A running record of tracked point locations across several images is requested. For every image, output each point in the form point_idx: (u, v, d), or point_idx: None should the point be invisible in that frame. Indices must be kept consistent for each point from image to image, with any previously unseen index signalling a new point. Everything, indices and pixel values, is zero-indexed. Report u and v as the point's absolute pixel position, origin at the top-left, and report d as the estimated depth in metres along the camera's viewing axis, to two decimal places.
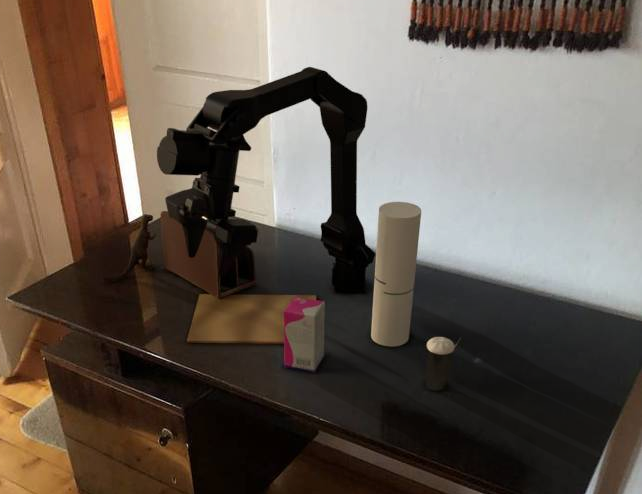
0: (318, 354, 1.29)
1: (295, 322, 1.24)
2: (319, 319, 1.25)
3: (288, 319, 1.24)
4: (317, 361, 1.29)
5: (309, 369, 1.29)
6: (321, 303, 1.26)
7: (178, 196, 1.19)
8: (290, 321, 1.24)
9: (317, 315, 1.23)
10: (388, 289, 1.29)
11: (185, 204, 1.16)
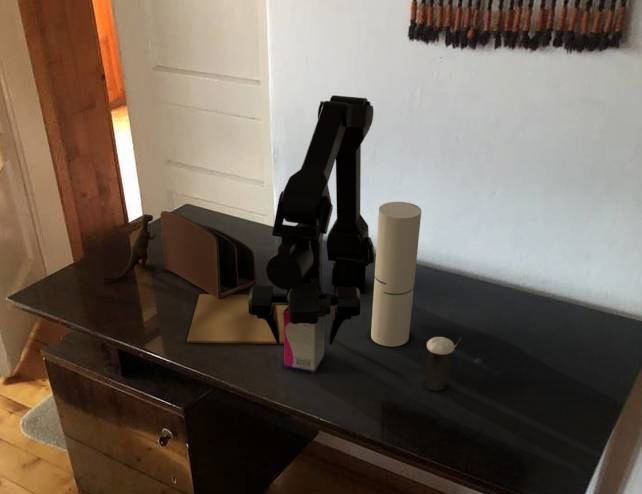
0: (318, 354, 1.29)
1: None
2: (319, 320, 1.25)
3: (288, 319, 1.24)
4: (317, 361, 1.29)
5: (309, 369, 1.29)
6: None
7: (297, 301, 1.17)
8: None
9: None
10: (388, 289, 1.29)
11: (319, 305, 1.16)
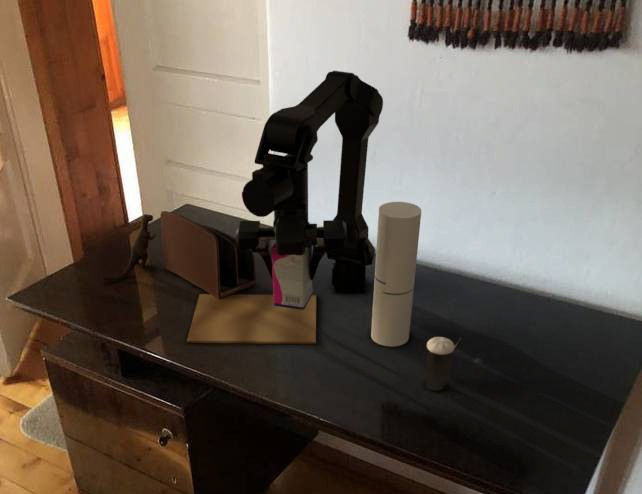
0: (307, 291, 1.30)
1: (283, 259, 1.25)
2: (306, 255, 1.26)
3: (276, 256, 1.25)
4: (306, 298, 1.30)
5: (298, 306, 1.30)
6: None
7: (284, 232, 1.18)
8: (278, 258, 1.25)
9: (305, 251, 1.24)
10: (388, 289, 1.29)
11: (306, 236, 1.17)
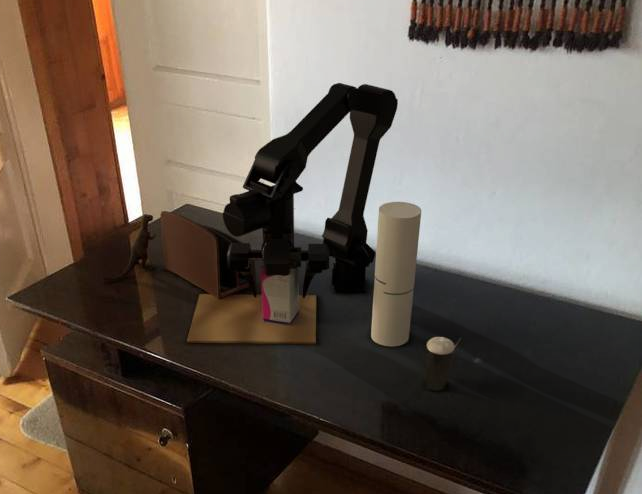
0: (293, 308, 1.41)
1: (272, 278, 1.36)
2: (293, 275, 1.37)
3: (265, 275, 1.36)
4: (292, 314, 1.41)
5: (285, 321, 1.41)
6: None
7: (271, 254, 1.28)
8: (267, 277, 1.36)
9: (291, 270, 1.35)
10: (388, 289, 1.29)
11: (291, 258, 1.28)
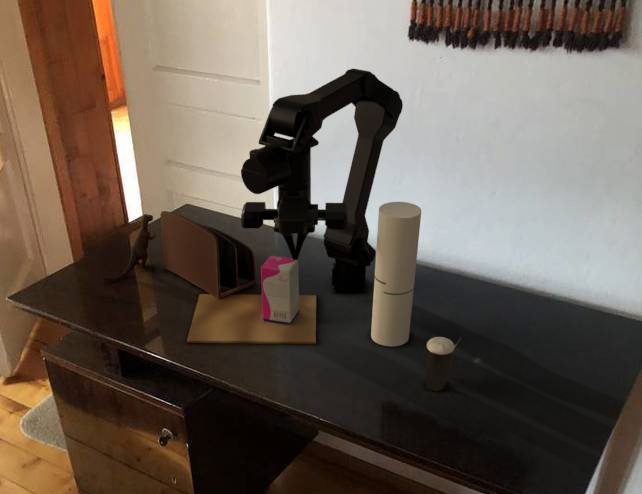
0: (293, 308, 1.41)
1: (272, 278, 1.36)
2: (293, 275, 1.37)
3: (265, 275, 1.36)
4: (292, 314, 1.41)
5: (285, 321, 1.41)
6: (295, 260, 1.38)
7: (287, 212, 1.24)
8: (267, 277, 1.36)
9: (291, 270, 1.35)
10: (388, 289, 1.29)
11: (307, 215, 1.23)
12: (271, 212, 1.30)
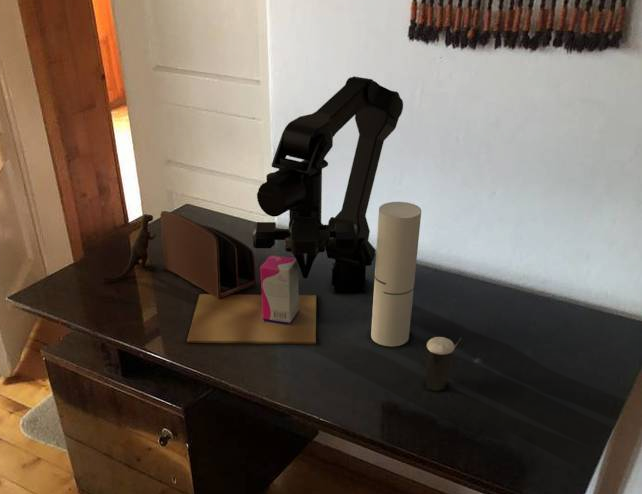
0: (293, 307, 1.41)
1: (271, 277, 1.36)
2: (293, 275, 1.37)
3: (265, 275, 1.36)
4: (292, 314, 1.41)
5: (285, 321, 1.41)
6: (294, 260, 1.38)
7: (299, 232, 1.26)
8: (266, 276, 1.36)
9: (291, 270, 1.35)
10: (388, 289, 1.29)
11: (319, 236, 1.25)
12: (282, 232, 1.32)
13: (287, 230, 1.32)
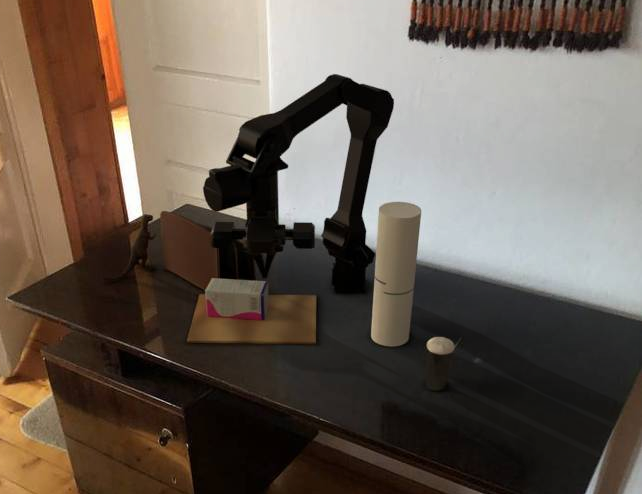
0: (251, 288, 1.41)
1: (216, 307, 1.42)
2: (217, 285, 1.42)
3: (214, 313, 1.43)
4: (257, 290, 1.40)
5: (260, 298, 1.39)
6: (210, 281, 1.44)
7: (255, 232, 1.26)
8: (215, 311, 1.42)
9: (209, 287, 1.41)
10: (388, 289, 1.29)
11: (275, 236, 1.25)
12: (240, 232, 1.32)
13: (245, 230, 1.33)
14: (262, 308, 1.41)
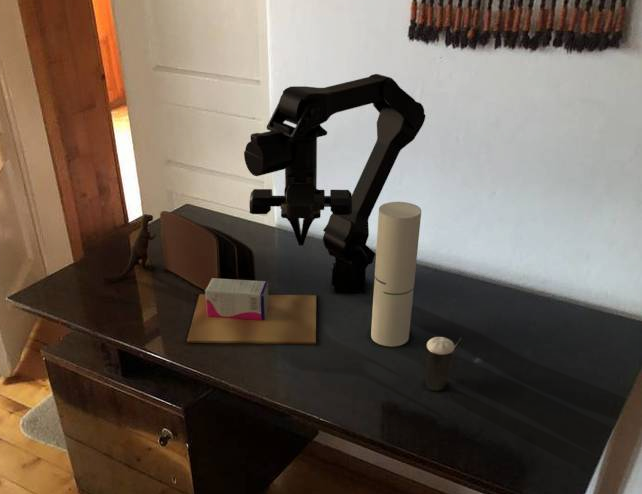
0: (251, 288, 1.41)
1: (215, 307, 1.42)
2: (217, 286, 1.42)
3: (214, 313, 1.43)
4: (256, 290, 1.40)
5: (260, 299, 1.39)
6: (210, 281, 1.44)
7: (294, 197, 1.28)
8: (215, 311, 1.42)
9: (209, 287, 1.41)
10: (388, 289, 1.29)
11: (314, 200, 1.28)
12: (278, 198, 1.35)
13: (283, 196, 1.35)
14: (262, 308, 1.41)
